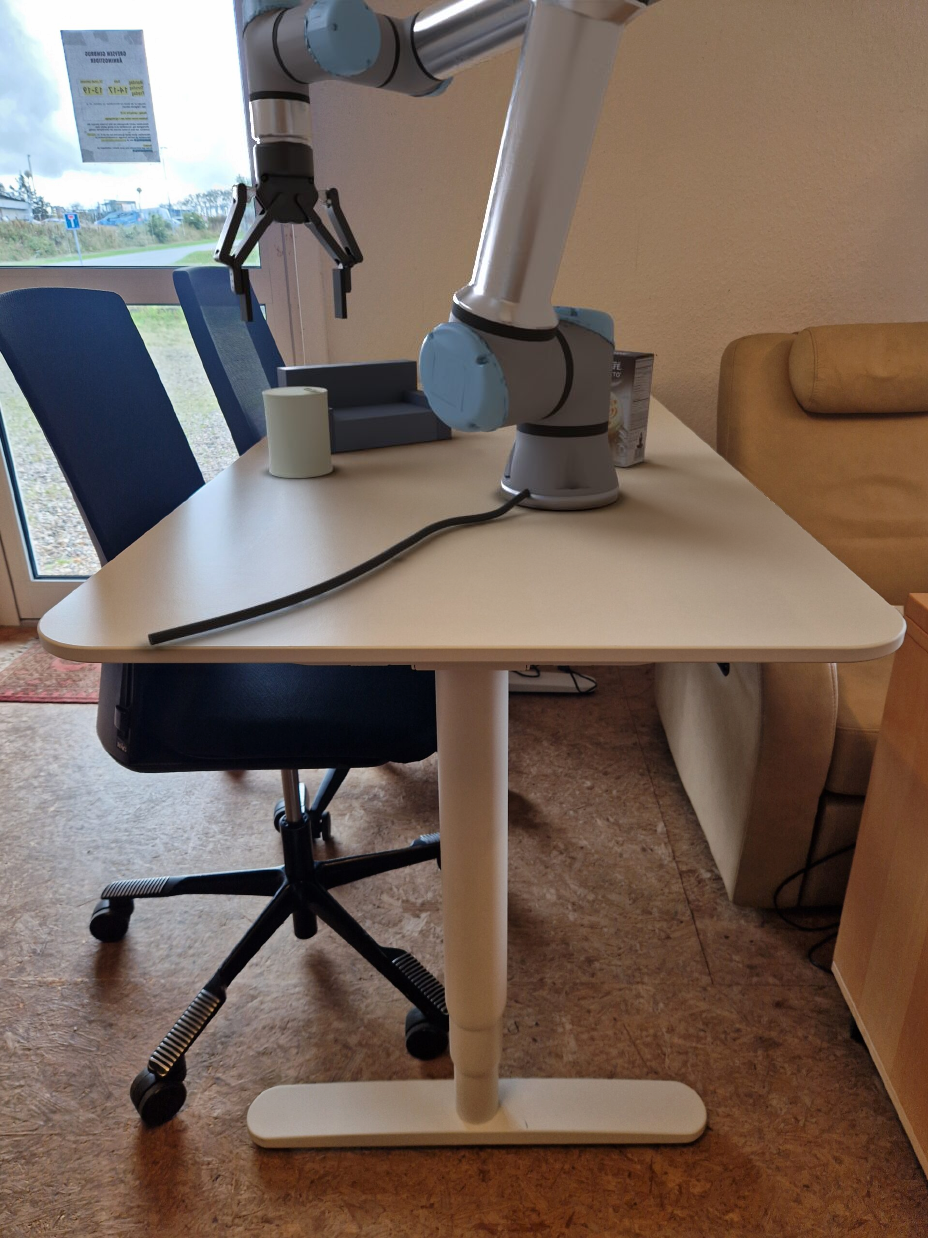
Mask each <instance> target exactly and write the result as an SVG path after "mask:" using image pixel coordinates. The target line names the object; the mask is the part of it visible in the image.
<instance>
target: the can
mask: <svg viewBox="0 0 928 1238" xmlns="http://www.w3.org/2000/svg"><path fill="white" fill-rule="evenodd" d="M261 394H262V398H263V406H264V407H263V408H264V415H265V424H266V425H265V426H266V436H267V445H268V446H267V447H268V457H269V469H268V470H269V474H270V475H272V476H274V477H277V478H286V479H307V478H316V477H322V476H325V475H328V474H330V473H332V472H333V470H334V467H333V463H332V462H333V461H332V453H331V450H330V436H329V420H328V402H327V390H326V389H324V388H319V387H281V388H279V387H274V388H267V389H265V390H263V391H262V393H261Z"/></svg>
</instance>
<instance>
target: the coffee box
mask: <svg viewBox="0 0 928 1238" xmlns="http://www.w3.org/2000/svg"><path fill="white" fill-rule="evenodd" d="M654 363H655V353H652V352H642V351H641V352H640V351H630V350H619V349H615V350H614V355H613V368H612V381H611V396H610V410H609V423H608V441H609V445H610V449H611V453H612V457H613V461H614V465H615V467H621V468H627V467H631V466H634V465H636V464H638V463H641V462H643V461H645V453H646V442H647V434H648V423H649V413H650V405H651V404H650V403H651V392H652V384H653V383H652V382H653V372H654Z"/></svg>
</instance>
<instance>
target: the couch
mask: <svg viewBox="0 0 928 1238" xmlns="http://www.w3.org/2000/svg"><path fill="white" fill-rule="evenodd" d="M276 371H277V372H276V373H277V383H278V388H281V387H319V388H324V389H326V390H327V402H328V420H329V436H330V450H331V454H335V453H342V452H351V451H357V450H367V449H368V450H369V449H376V448H383V447H391V446H400V445H408V444H416V443H426V442H433V441H440V440H449V439H452V433H453V432H452V430H453V428H451V427H449V426H448V425H446V424H445V423H444V422H443V421H442V420H441V419H440V418H439V417H438V416H437V415H436V414H435V413H434V411H433V410H432V408H431V406H430V405H429V401H428V398H427V396H426V395H425V394H424V392H423V390H421V389H419V388H418V361H417V360H413V359H407V358H406V359H405V358H404V359H403V358H402V359H389V360H388V359H387V360H374V361H373V360H372V361H358V362H344V363H343V362H342V363H327V364H311V365H296V366H280V367H276Z"/></svg>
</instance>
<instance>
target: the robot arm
mask: <svg viewBox="0 0 928 1238" xmlns="http://www.w3.org/2000/svg"><path fill="white" fill-rule="evenodd" d="M660 1H662V0H439V1H437V2H435V3H433V4H431V5H429V6H428V7H425V8H424V9H422V10H420V11H418V12H416V13H414V14H411V15H409V16H408V17H404V18H398V17H394V16H391V15H386V14H383V13H380V12H375V11H374V10H373V8H372V7H371V6H369V4H368V3H366V1H365V0H313V1H309V2H307V3H304V2H303V0H242V2H241V8H242V9H241V11H242V29H241V33H242V34H241V38H242V40H243V49H244V51H243V52H244V61H245V71H246V82H247V90H248V97H249V98H248V99H249V112H250V113H249V114H250V123H251V124H250V125H251V137H252V139H253V140H255V141H257V143H255V144H254V146H253V148H252V150H253V151H252V152H253V163H254V171H255V172H254V173H255V174H254V175H255V185H254V186H252V185H246V183H244V182H239V183H234V184H233V185H232V187H231V204H230V207H229V210H228V213H227V216H226V219H225V222H224V225H223V227H222V230H221V232H220V236H219V239H218V241H217V245H216V246H215V247H216V248H215V250H214V253H213V261H214V262H215V263H219V264H221V265H224V266H226V267H227V268H228V270H229V279H230V288H231V292H232V294H233V295H237V296H238V298H239V307H240V318H241V321H242V322H246V323H253V322H254V315H253V314H254V313H253V303H252V301H253V300H252V292H251V280H250V271H249V268H242V266H243V265H244V263H245V262H246V260H248V257H249V256H250V254H251V253H252V252H253V250H254V249H255V247H256V246H257V244H258V243H259V241H260V239H261V238H262V237H263V236H264V234H265V232H266V230H267V229H268V228H269V227H270V226H271V225H272V223H274V224H275V225H285V224H289V225H304V226H305V227H306V228H307V229H308V230H309V231H310V232H311V233H312V235H313V236H314V237H315V239H317V241H318V242H319V244H320V245H321V246H322V248H323V250H325V251H326V253H327V254H328V255H329V257H330V258H331V259H332V260H333V262H334V263H335V264H336V266H337V267H338V268H331V270H332V271H331V272H332V273H331V274H332V289H333V310H334V318H335V319H341V320H347V319H348V303H347V294H350V293H351V292H352V289H353V287H352V268H354V266H356V265H358V264H362V263H363V262H364V256H363V254H362V251H361V248H360V247H359V244H358V242H357V240H356V238H355V235H354V233H353V231H352V229H351V226H350V225H349V222H348V220H347V218H346V216H345V214H344V211H343V209H342V207H341V203H340V196H339V195H340V194H339V190H338V189H337V188H336V187H328V188H325V189H319V190H318V189H317V186H316V184H315V163H314V149H313V148H312V146H311V145H309V143H311V141H312V140H313V130H312V114H311V98H310V84H314V83H318V82H319V83H320V82H324V81H338V82H342V83H348V84H353V85H357V86H362V87H363V86H364V87H368V88H374V89H380V90H384V91H389V92H394V93H399V94H403V95H408V96H409V97H414V98H424V97H425V98H437V97H439V96H441V95H443V94H444V93H445V92H446V91H447V89H448V87H449V86H450V85H451V84H452V82H453V80H454V77H455V76H457V75H459V74H462V73H464V72H466V71H469V70H472V69H473V68H476V67H478V66H480V65H482V64H485V63H488V62H490V61H492V60H495V59H498V58H499V57H502V56H504V55H506V54H508V53H511V52H514V51H516V50H518V49H520V53H519V57H518V61H517V67H516V71H515V76H514V80H513V85H512V90H511V95H510V100H509V104H508V109H507V113H506V114H507V115H506V118H505V123H504V127H503V132H502V136H501V142H500V145H499V151H498V155H497V161H496V166H495V168H494V169H495V170H494V175H493V179H492V183H491V189H490V193H489V198H488V201H487V202H488V203H487V207H486V212H485V217H484V221H483V227H482V231H481V235H480V240H479V245H478V249H477V254H476V258H475V264H474V268H473V273H472V277H471V279H470V282H468V283H467V284H464V286H463V287H461V288H459V289H458V290H457V291H455V292H454V295H453V299H452V304H451V308H450V313H449V318H448V322H442V323H439V325H438V326H436V327H434V329H433V330H432V331H431V332H428V333H427V335H426V336H425V337H424V340H423V343H422V344H421V347H420V351H419V358H418V372H419V373H418V375H419V380H420V385H421V388H422V391H423V392H424V394H425V395H426V396H427V398H428V401H429V405H430V406H431V408H432V410H433V411H434V413H435V414H436V415H437V416H438V417H439V418H440V419H441V420H442V421H443V422H444V423H445V424H446V425H448V426H449V427H451V428H452V430H455V431H458V432H461V433H467V434H468V433H478V432H483V433H490V432H491V433H493V432H495V431H497V430H498V429H502V428H507V427H513V426H516V428H515V429H516V430H515V438H514V441H513V444H512V447H511V449H510V453H509V456H508V458H507V461H506V464H505V468H504V469H503V470H504V471H503V474H502V477H501V480H500V495H501V497H502V498H503V499H504V500H506V502H505V503H504V504H503V505H502V506H500V507H498V508H496V509H494V510H491V511H486V512H483V513H476V514H469V515H468V514H467V515H460V516H454V517H450V518H445V519H442V520H439V521H436V522H434V523H431V524H429V525H427V526H425V527H422V528H421V529H420V530H418V531H416V532H415V533H413V534H412V535H410V536H408V537H406V538H405V539H402V540H400V541H399V542H397V543H395V544H394V545H392V546H391V547H389V548H387V549H386V550H384V551H382V552H381V553H379V554H377V555H375V556H374V557H372V558H370V559H368V560H366V561H365V562H362V563H360V564H358V565H356V566H354V567H352V568H350V569H349V570H347V571H344V572H342V573H340V574H338V575H336V576H334V577H331V578H329V579H327V580H324V581H322V582H320V583H317V584H315V585H312V586H310V587H307V588H304V589H301V590H299V591H297V592H294V593H291V594H288V595H285V596H282V597H279V598H276V599H273V600H269V601H266V602H264V603H260V604H257V605H254V606H250V607H247V608H243V609H240V610H236V611H233V612H229V613H225V614H223V615H218V616H215V617H212V618H207V619H204V620H200V621H195V622H191V623H187V624H183V625H181V626H176V627H171V628H168V629H164V630H159V631H155V632H151V633H148V634H147V639H148V642H149V645H150V646H155V645H159V644H162V643H166V642H171V641H174V640H178V639H182V638H186V637H190V636H194V635H197V634H201V633H207V632H210V631H212V630H217V629H221V628H223V627H227V626H231V625H234V624H237V623H241V622H244V621H247V620H251V619H255V618H258V617H261V616H264V615H267V614H270V613H273V612H276V611H280V610H282V609H285V608H288V607H291V606H294V605H297V604H301V603H302V602H304V601H308V600H310V599H312V598H315V597H318V596H320V595H322V594H324V593H328V592H329V591H331V590H334V589H336V588H339V587H340V586H343V585H344V584H347V583H348V582H349V583H350V582H351V581H353V580H355V579H356V578H358V577H361V576H363V575H365V574H367V573H368V572H370V571H372V570H373V569H376V568H377V567H379V566H380V565H382V564H384V563H386V562H387V561H389V560H390V559H392V558H394V557H395V556H397V555H399V554H400V553H402V552H403V551H406V550H407V549H409V548H410V547H413V546H414V545H416V544H417V543H419V542H420V541H422V540H423V539H425V538H427V537H428V536H430V535H432V534H433V533H436V532H438V531H440V530H443V529H446V528H450V527H453V526H460V525H467V524H475V523H481V522H486V521H491V520H493V519H497V518H499V517H502V516H504V515H505V514H507V513H508V512H509V511H511V510H512V509H513V508H514V507H515V506H517V505H518V506H523V507H527V508H532V509H541V510H553V511H575V510H576V511H577V510H579V511H580V510H589V509H595V508H596V509H597V508H600V507H605V506H607V505H610V504H613V503H614V502H615V501H616V500H617V499H618V498H619V486H620V482H619V478H618V474H617V470H616V466H615V465H614V461H613V457H612V453H611V449H610V445H609V441H608V423H609V410H610V396H611V381H612V368H613V355H614V350H616V341H615V321H614V319H613V317H612V316H611V315H610V314H608V313H607V312H605V311H601V310H597V309H592V308H585V307H572V306H566V305H553V304H552V301H551V299H552V296H553V293H554V288H555V285H556V280H557V277H558V273H559V270H560V266H561V262H562V259H563V255H564V251H565V248H566V244H567V241H568V238H569V237H568V236H569V233H570V229H571V225H572V222H573V218H574V215H575V211H576V206H577V203H578V199H579V195H580V193H581V188H582V186H583V185H582V184H583V181H584V178H585V173H586V170H587V167H588V163H589V158H590V155H591V151H592V147H593V143H594V140H595V136H596V133H597V129H598V125H599V122H600V118H601V115H602V112H603V111H602V110H603V107H604V103H605V99H606V95H607V92H608V88H609V84H610V81H611V77H612V73H613V69H614V66H615V62H616V59H617V55H618V51H619V47H620V45H621V44H620V43H621V39H622V36H623V32H624V30H625V29H626V28H627V26H628V25H629V24H631V23H632V22H633V21H635V20H636V19H638V18H639V17H640V16H641V15H643V14H644V13H646V12H647V9H648V7H650V6H652V5H654V4H656V3H658V2H660ZM253 198H254V200H256V202H257V203H258V205H259V206H260V208H261V209H260V210H259V212H258V213H257V215H256V216H255V218H254V221H253V222H252V224H251V225H250V226H249V228H248V229H247V231H246V232H245V234H244V235H243V237H242V239H241V240H240V242H239V243H238V245H237V246H236V248H235V249H234V251H233V252H232V249H233V246H234V245H235V240H236V238H237V235H238V232H239V229H240V226H241V224H242V222H243V218H244V215H245V212H246V209H247V205H248V204H250V203H251V202H252V199H253ZM318 201H319V202H320V205H321V206H322V207H324V209H325V212H326V215H327V217H328V218H329V221H330V223H331V225H332V227H333V230H334V232H335V234H336V236H337V237H338V240H339V242H340V244H341V245H340V244H339V242H338V241H337V240H336V238H335V237H334V236H333V235H332V233H331V232H330V231H329V229H328V228H327V227H326V225H325V224H324V223H323V221H322V218H321V217H320V215H319V214H318V213H317V212H316V209H314V208H315V206H316V205H317V203H318ZM231 252H232V254H231Z"/></svg>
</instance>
